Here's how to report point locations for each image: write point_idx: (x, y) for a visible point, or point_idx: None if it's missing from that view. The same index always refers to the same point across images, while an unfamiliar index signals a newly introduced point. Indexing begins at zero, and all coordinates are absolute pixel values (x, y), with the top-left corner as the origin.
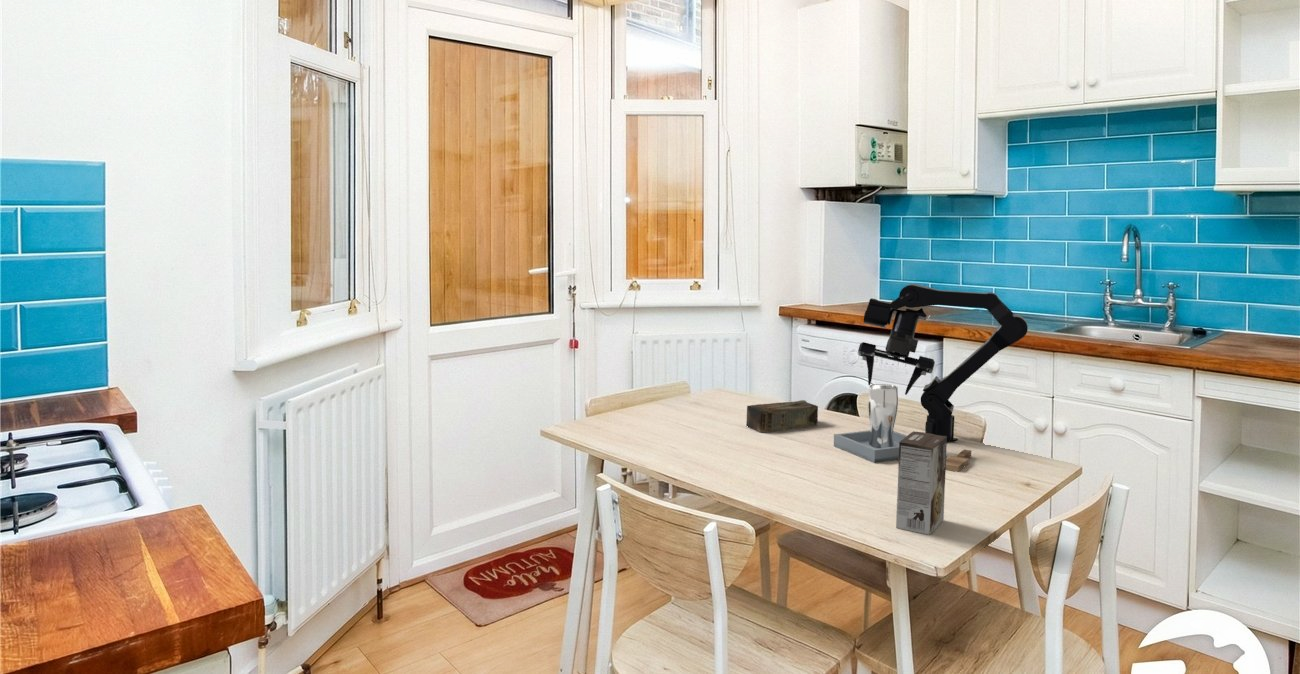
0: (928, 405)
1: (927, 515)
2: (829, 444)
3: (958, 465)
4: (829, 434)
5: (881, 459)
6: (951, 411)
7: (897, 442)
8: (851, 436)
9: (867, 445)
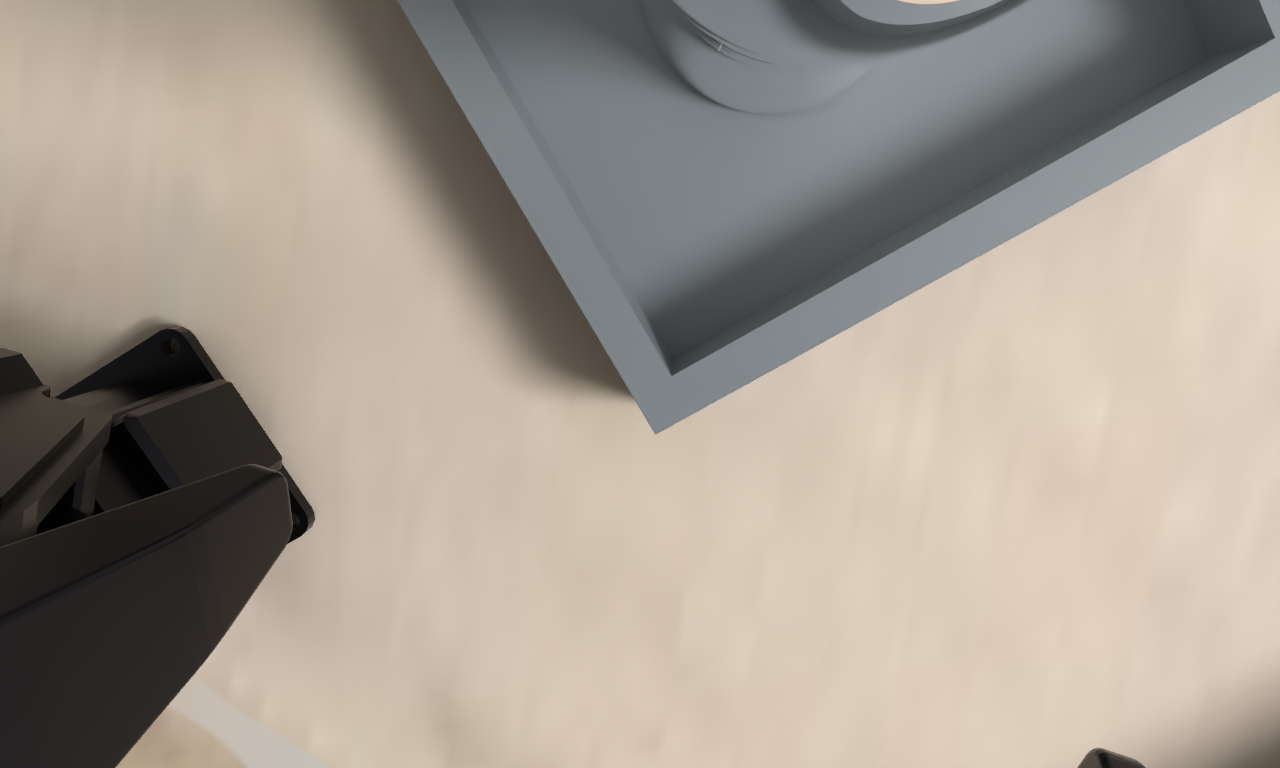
0: (5, 462)
1: None
2: (1272, 146)
3: None
4: (1181, 545)
5: None
6: None
7: (577, 188)
8: (1090, 136)
9: None
